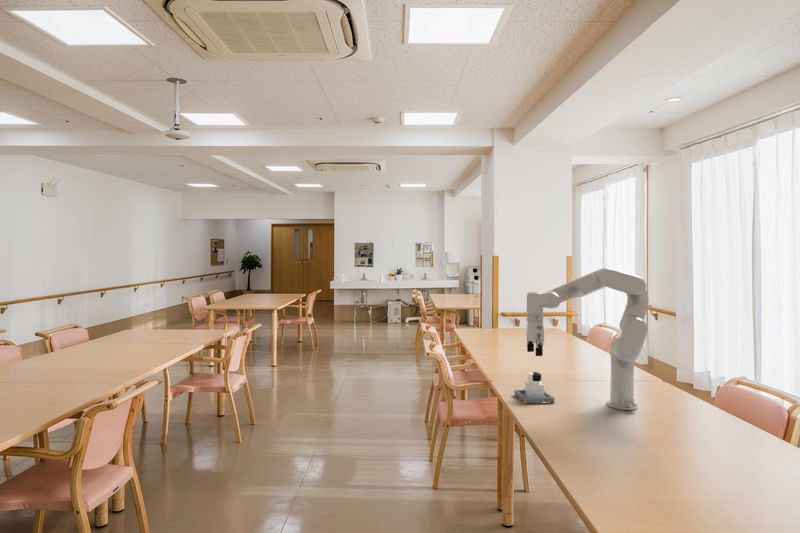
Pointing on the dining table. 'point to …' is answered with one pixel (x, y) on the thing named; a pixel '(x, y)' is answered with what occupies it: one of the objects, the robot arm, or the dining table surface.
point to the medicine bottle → (534, 386)
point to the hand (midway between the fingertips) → (534, 353)
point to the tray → (533, 400)
